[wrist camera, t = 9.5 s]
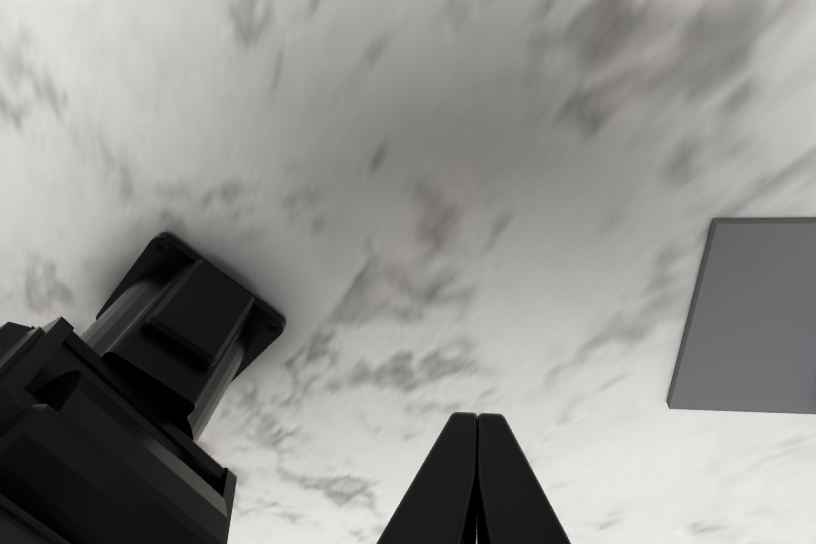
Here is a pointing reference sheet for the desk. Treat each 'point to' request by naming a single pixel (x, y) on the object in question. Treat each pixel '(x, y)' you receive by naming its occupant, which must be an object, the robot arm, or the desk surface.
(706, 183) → the desk surface
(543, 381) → the desk surface
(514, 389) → the desk surface
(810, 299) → the mat
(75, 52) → the desk surface
